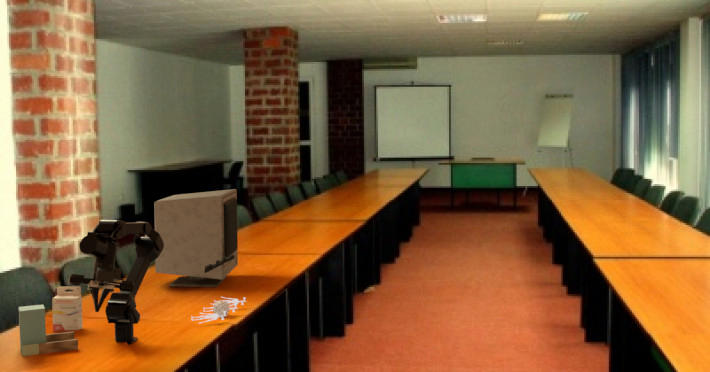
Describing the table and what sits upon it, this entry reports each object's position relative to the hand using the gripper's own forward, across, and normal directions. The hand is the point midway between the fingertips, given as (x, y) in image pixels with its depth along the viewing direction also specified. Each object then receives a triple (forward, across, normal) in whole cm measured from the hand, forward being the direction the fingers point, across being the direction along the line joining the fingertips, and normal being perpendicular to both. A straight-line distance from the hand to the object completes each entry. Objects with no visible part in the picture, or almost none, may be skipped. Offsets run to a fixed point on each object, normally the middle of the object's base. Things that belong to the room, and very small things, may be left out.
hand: (96, 311), depth 229 cm
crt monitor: (-23, +48, +95) cm, 109 cm away
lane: (+12, -8, +14) cm, 20 cm away
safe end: (+13, -16, +14) cm, 25 cm away
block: (+12, -15, +14) cm, 24 cm away
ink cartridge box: (+5, -4, +36) cm, 36 cm away
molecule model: (-5, +46, +34) cm, 57 cm away
